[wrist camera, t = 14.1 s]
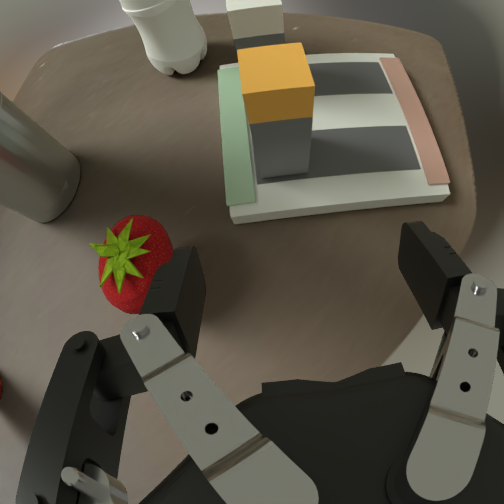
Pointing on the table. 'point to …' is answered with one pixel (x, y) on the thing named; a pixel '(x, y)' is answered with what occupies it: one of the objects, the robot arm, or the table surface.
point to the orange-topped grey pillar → (278, 106)
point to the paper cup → (0, 388)
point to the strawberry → (131, 260)
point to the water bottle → (168, 33)
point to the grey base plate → (330, 133)
